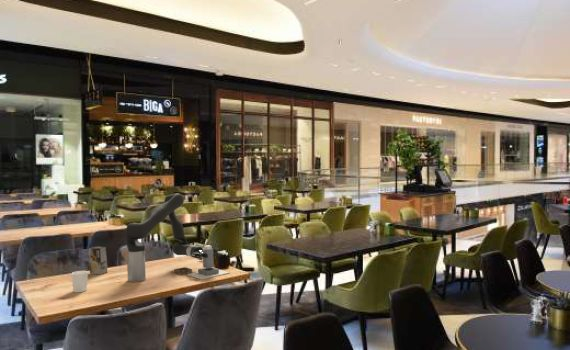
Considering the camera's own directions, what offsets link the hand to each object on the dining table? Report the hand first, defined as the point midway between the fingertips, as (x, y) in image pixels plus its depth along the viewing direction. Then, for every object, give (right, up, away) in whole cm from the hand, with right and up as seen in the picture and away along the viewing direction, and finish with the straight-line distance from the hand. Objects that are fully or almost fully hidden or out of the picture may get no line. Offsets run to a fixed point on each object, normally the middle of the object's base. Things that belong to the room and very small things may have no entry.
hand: (210, 255), depth 282 cm
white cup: (-66, -14, -29) cm, 73 cm away
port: (-2, -12, +2) cm, 12 cm away
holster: (-18, -12, +8) cm, 23 cm away
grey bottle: (-2, -7, +2) cm, 8 cm away
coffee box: (-72, -13, +12) cm, 74 cm away
